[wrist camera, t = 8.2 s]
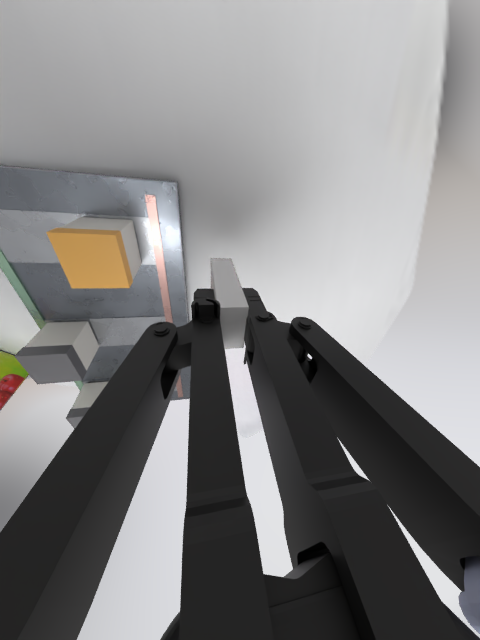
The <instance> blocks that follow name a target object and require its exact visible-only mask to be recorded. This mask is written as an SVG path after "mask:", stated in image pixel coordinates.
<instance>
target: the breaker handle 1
mask: <svg viewBox="0 0 480 640" xmlns="http://www.w3.org/2000/svg"><path fill="white" fill-rule="evenodd" d="M98 348H99V345H98V343H97V340H96V338H95V336H94V334H93V332H92V329H91V327H90V325H89V323H88V321H84V322H53V323H46V325H45V326H44V327H43V328H42V329H41V330H40V331H39V332H38V333H37V334H36V335H35V336H34V337H33V339H32V340H31V341H30V342H29V343H28V344H27V345H26V346H25V347H23V348H22V349H21V350H20V351H19V352H18V353H17V354H16V355H15V358H16V359H17V360H18V362H19V363H20V364H21V365H22V366H23V368H24V369H25V370H26V371H27V372H28V374H29V375H30V376H31V377H32V378H33V380H34V381H35V382H36V383H37V384H46V383H58V382H70V381H82V380H83V378H84V376H85V375H86V373H87V369H88V367H89V365H90V363H91V361H92V360H93V358H94V356H95V354H96V352H97V350H98Z"/></svg>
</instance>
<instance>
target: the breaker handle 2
mask: <svg viewBox="0 0 480 640" xmlns="http://www.w3.org/2000/svg"><path fill="white" fill-rule="evenodd" d="M108 382H109V381H108ZM108 382H96V383H84V385H83V387H82V389H81V391H80V393H79V395H78V397H77V399H76V401H75V403H74V405H73V407H72V409H70V411H69V414H68V415H67V417H66V419H67V420H68V421H69V423H70V424H71V425H72V426H73V427H74V429H75V428H76V426H77V425H78V424H79V422H80V421H81V419H82V418H83V417H84V415H85V414H86V412H87V411H88V410H89V408H90V407H91V405H92V404H93V403H94V401H95V400H96V398H97V397H98V396H99V394H100V393H101V392H102V390H103V389H104V387H105V386H106V385H107V383H108Z"/></svg>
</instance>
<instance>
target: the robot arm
mask: <svg viewBox="0 0 480 640" xmlns="http://www.w3.org/2000/svg"><path fill="white" fill-rule="evenodd" d="M191 308H192V320H191V321H190V322H189V323H188V324H186V325H183V326H180V327H176V325H174V324H173V323H170V322H157V323H154V324H152V325H150V326H149V327H148V328H147V329H146V330H145V332H144V333H143V334H142V336H141V337H140V338H139V340H138V341H137V343H136V344H135V345H134V347H133V348H132V350H131V351H130V352H129V354H128V355H127V357H126V358H125V359H124V361H123V362H122V364H121V365H120V366H119V368H118V369H117V371H116V372H115V373H114V375H113V376H112V378H111V379H110V380H109V382H108V383H107V385H106V386H105V387H104V389H103V390H102V392H101V393H100V394H99V396H98V397H97V398H96V400H95V401H94V403H93V404H92V405H91V407H90V408H89V410H88V411H87V412H86V414H85V415H84V417H83V418H82V419H81V421H80V422H79V424H78V425H77V426H76V428H75V429H74V431H73V432H72V434H71V435H70V436H69V438H68V439H67V440H66V442H65V443H64V445H63V446H62V447H61V449H60V450H59V452H58V453H57V454H56V456H55V457H54V459H53V460H52V461H51V463H50V464H49V465H48V467H47V468H46V470H45V471H44V472H43V474H42V475H41V477H40V478H39V479H38V481H37V482H36V484H35V485H34V486H33V488H32V489H31V491H30V492H29V493H28V495H27V496H26V498H25V499H24V500H23V502H22V503H21V505H20V506H19V507H18V509H17V510H16V512H15V513H14V514H13V516H12V517H11V518H10V520H9V521H8V523H7V524H6V526H5V527H4V528H3V530H2V531H1V532H0V640H77V637H78V635H79V633H80V630H81V628H82V626H83V623H84V621H85V618H86V616H87V614H88V611H89V609H90V607H91V604H92V602H93V599H94V596H95V594H96V591H97V589H98V586H99V583H100V581H101V578H102V575H103V573H104V570H105V568H106V565H107V563H108V560H109V557H110V555H111V552H112V550H113V547H114V544H115V542H116V539H117V537H118V534H119V532H120V529H121V526H122V524H123V521H124V519H125V516H126V513H127V511H128V508H129V506H130V503H131V501H132V498H133V495H134V493H135V490H136V487H137V485H138V482H139V480H140V477H141V475H142V472H143V469H144V467H145V464H146V461H147V459H148V457H149V454H150V451H151V449H152V446H153V444H154V441H155V438H156V436H157V433H158V431H159V428H160V426H161V423H162V420H163V418H164V415H165V412H166V410H167V407H168V405H169V402H170V400H171V397H172V394H173V392H174V389H175V387H176V384H177V382H178V379H179V376H180V374H181V370H182V368H185V367H188V366H191V377H190V409H189V441H188V474H187V475H188V476H187V502H186V512H185V519H184V531H183V553H182V580H181V608H180V612H179V613H178V614H177V616H176V617H175V618H174V619H173V621H172V622H171V624H170V625H169V627H168V629H167V630H166V632H165V633H164V634H163V636H162V638H161V640H480V638H479V637H478V636H477V635H475V634H474V632H473V631H472V630H470V629H469V628H468V627H467V626H466V625H465V624H464V623H463V622H462V621H461V620H460V619H459V618H458V617H457V616H456V615H455V614H454V613H453V612H452V611H451V610H450V609H449V608H448V607H447V606H446V605H445V604H444V603H443V602H442V601H441V600H440V598H439V596H438V595H437V593H436V591H435V589H434V588H433V586H432V584H431V582H430V580H429V578H428V577H427V575H426V573H425V571H424V570H423V568H422V566H421V564H420V562H419V561H418V559H417V557H416V555H415V553H414V552H413V550H412V548H411V546H410V544H409V543H408V541H407V539H406V537H405V535H404V534H403V532H402V530H401V528H400V527H399V525H398V523H397V521H396V519H395V518H394V516H393V514H392V512H391V511H390V509H389V507H390V508H391V510H392V511H393V512H394V514H395V515H396V516H397V518H398V519H399V520H400V522H401V523H402V525H403V526H404V527H405V528H406V529H407V531H408V532H409V533H410V535H411V536H412V537H413V538H414V540H415V541H416V542H417V543H418V545H419V546H420V547H421V548H422V550H423V551H424V552H425V553H426V554H427V555H428V556H429V557H430V558H431V560H432V561H433V562H434V563H435V564H436V565H437V566H438V567H439V569H440V570H441V571H442V572H443V573H444V574H445V575H446V576H447V577H448V578H449V579H450V580H451V581H452V582H453V583H454V584H455V585H456V586H457V587H458V588H459V589H460V590H461V591H462V592H461V593H460V595H459V604H460V607H461V609H462V612H463V614H464V616H465V617H466V619H467V620H468V622H469V623H470V625H471V626H472V627H473V628H474V629H475V630H476V631H477V632H478V633H479V634H480V467H479V466H478V465H477V464H475V463H474V462H473V461H472V460H471V459H470V458H468V456H466V455H465V454H464V453H463V452H462V451H461V450H460V449H458V448H457V447H456V446H455V445H454V444H453V443H452V442H450V441H449V440H448V439H447V438H446V437H445V436H444V435H442V434H441V433H440V432H439V431H438V430H437V429H436V428H435V427H433V426H432V425H431V424H430V423H429V422H428V421H427V420H425V419H424V418H423V417H422V416H421V415H420V414H419V413H417V412H416V411H415V410H414V409H413V408H412V407H411V406H410V405H408V404H407V403H406V402H405V401H404V400H403V399H402V398H401V397H399V396H398V395H397V394H396V393H395V392H394V391H392V390H391V389H390V388H389V387H388V386H387V385H386V384H384V383H383V382H382V381H381V380H380V379H379V378H378V377H377V376H376V375H374V374H373V373H372V372H371V371H370V370H369V369H367V368H366V367H365V366H364V365H363V364H362V363H361V362H360V361H359V360H357V359H356V358H355V357H354V356H353V355H352V354H351V353H349V352H348V351H347V350H346V349H345V348H344V347H343V346H341V345H340V344H339V343H338V342H337V341H336V340H335V339H334V338H332V337H331V336H330V335H329V334H328V333H327V332H326V331H324V330H323V329H322V328H321V327H320V326H319V325H318V324H317V323H315V322H314V321H312V320H311V319H308V318H305V317H296V318H294V319H293V320H292V321H291V324H290V323H285V322H280V321H277V319H276V317H275V316H274V315H273V314H272V313H270V312H267V311H266V309H265V306H264V304H263V302H262V301H261V298H260V296H259V294H258V292H257V291H256V290H254V289H253V288H242V287H241V284H240V281H239V279H238V276H237V273H236V270H235V268H234V265H233V262H232V259H221V258H211V289H197V290H196V291H195V292H194V301H193V302H192V305H191ZM244 341H245V345H246V350H245V357H244V364H246V360H247V364H248V368H249V372H250V376H251V380H252V384H253V388H254V392H255V396H256V400H257V404H258V408H259V412H260V416H261V420H262V424H263V428H264V432H265V436H266V440H267V444H268V449H269V453H270V456H271V460H272V464H273V469H274V472H275V477H276V481H277V485H278V488H279V493H280V497H281V501H282V505H283V511H284V528H285V535H286V540H287V545H288V549H289V553H290V558H291V562H292V566H293V570H292V571H291V572H289V573H288V574H287V575H286V576H284V577H277V576H271V575H265V574H263V571H262V564H261V558H260V551H259V545H258V539H257V533H256V527H255V522H254V516H253V512H252V508H251V504H250V503H249V499H248V497H247V493H246V489H245V482H244V476H243V469H242V462H241V456H240V449H239V442H238V437H237V429H236V422H235V416H234V409H233V402H232V396H231V389H230V383H229V376H228V369H227V363H226V356H225V349H231V348H243V347H244ZM308 353H309V354H310V355H311V356H312V359H310V358H309V357H308V356H307V355H308ZM337 437H338V438H337ZM338 439H339V440H340V441H341V443H342V444H343V445H344V447H345V448H346V449H347V451H348V452H349V453H350V455H351V456H352V457H353V459H354V460H355V461H356V463H357V464H358V465H359V467H360V468H361V469H362V471H363V472H364V474H365V475H366V476H367V478H368V479H369V480H370V481H369V480H367V479H365V478H363V477H361V476H359V475H358V474H357V473H356V472H355V471H354V469H353V467H352V466H351V464H350V462H349V460H348V458H347V456H346V454H345V452H344V450H343V448H342V446H341V445H340V442H339V440H338ZM387 504H388V505H387ZM388 506H389V507H388Z"/></svg>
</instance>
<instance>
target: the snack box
mask: <svg viewBox="0 0 480 640" xmlns="http://www.w3.org/2000/svg"><path fill="white" fill-rule="evenodd" d="M28 375H29V374H28V372H27V371H26V370H25V369H24V368H23V366H22V365H21V364H20V363H19V362H18V360H17V359H16V358H15V356H14V355H11V354H8V353H5V352H2V351H0V411H1V409H2V408H3V407H4V405H5V404H6V403H7V402H8V400H9V399H10V398H11V396H12V395H13V394H14V393H15V391H16V390H17V389H18V388H19V386H20V385H21V384H22V383H23V381H24V380H25V379H26V377H27V376H28Z"/></svg>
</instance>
